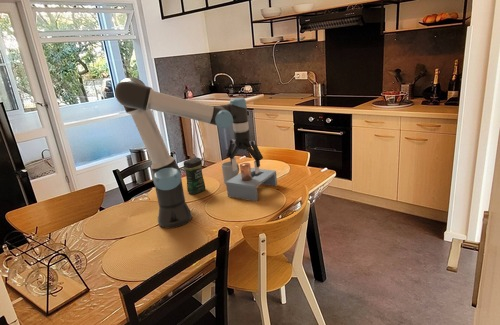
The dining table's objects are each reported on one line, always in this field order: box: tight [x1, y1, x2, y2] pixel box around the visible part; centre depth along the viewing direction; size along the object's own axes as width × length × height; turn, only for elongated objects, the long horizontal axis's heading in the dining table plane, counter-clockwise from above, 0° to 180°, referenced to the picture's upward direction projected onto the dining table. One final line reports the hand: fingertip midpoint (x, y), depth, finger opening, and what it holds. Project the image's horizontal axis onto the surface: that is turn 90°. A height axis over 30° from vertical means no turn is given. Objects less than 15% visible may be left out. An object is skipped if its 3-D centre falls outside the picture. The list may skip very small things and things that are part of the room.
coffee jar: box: [183, 156, 206, 195], centre depth 181 cm, size 10×8×19 cm
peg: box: [239, 162, 252, 181], centre depth 170 cm, size 5×5×15 cm
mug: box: [221, 160, 240, 185], centre depth 191 cm, size 12×8×11 cm
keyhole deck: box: [225, 167, 278, 202], centre depth 175 cm, size 22×17×8 cm
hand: (246, 171), depth 169 cm, fingers open, 13 cm apart
